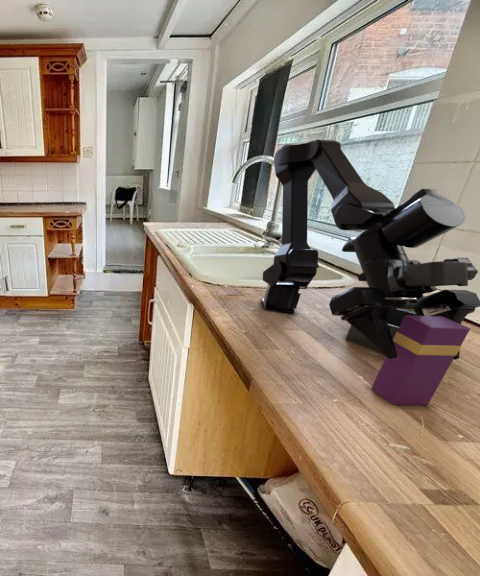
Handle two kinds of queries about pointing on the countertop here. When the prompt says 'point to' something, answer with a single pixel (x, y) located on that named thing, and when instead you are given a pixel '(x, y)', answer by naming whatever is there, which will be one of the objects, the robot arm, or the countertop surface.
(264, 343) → the countertop surface
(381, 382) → the chocolate carton
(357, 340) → the waste bin
